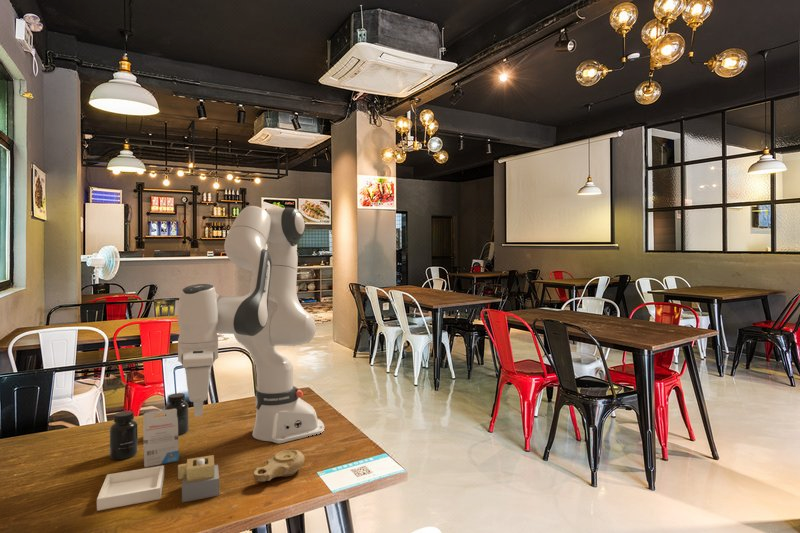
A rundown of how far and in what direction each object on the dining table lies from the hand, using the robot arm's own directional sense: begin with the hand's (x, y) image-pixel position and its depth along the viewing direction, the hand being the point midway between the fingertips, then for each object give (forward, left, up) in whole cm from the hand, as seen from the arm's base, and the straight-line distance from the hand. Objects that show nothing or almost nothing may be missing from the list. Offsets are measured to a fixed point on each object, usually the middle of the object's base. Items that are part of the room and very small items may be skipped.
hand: (198, 409), depth 111 cm
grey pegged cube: (0, 0, -20) cm, 20 cm away
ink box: (+10, -22, -20) cm, 31 cm away
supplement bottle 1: (+20, -30, -20) cm, 41 cm away
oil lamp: (-19, 0, -20) cm, 28 cm away
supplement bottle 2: (+7, -43, -20) cm, 48 cm away
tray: (+15, -6, -20) cm, 25 cm away
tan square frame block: (0, 0, -16) cm, 16 cm away
